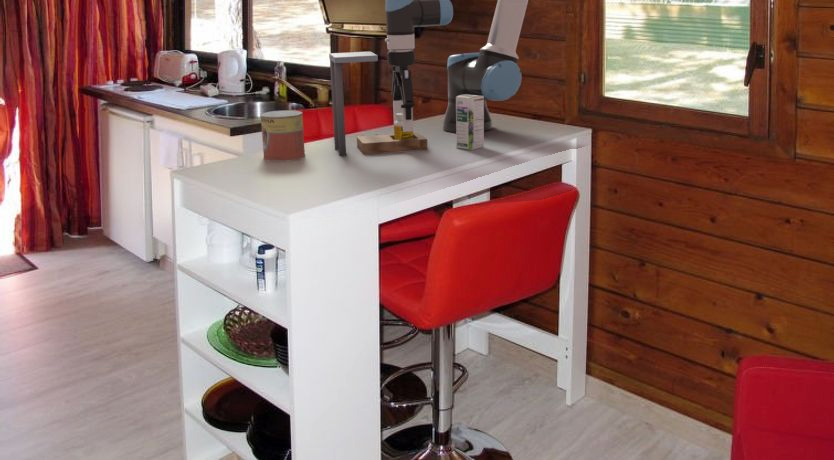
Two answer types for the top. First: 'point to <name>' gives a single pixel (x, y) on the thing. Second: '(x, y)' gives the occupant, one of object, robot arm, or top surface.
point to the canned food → (282, 135)
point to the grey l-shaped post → (337, 92)
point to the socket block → (390, 143)
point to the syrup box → (469, 122)
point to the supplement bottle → (401, 129)
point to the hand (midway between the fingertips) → (403, 127)
